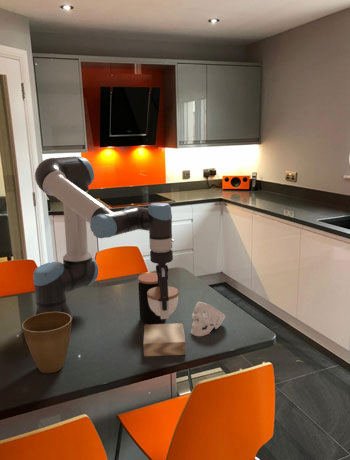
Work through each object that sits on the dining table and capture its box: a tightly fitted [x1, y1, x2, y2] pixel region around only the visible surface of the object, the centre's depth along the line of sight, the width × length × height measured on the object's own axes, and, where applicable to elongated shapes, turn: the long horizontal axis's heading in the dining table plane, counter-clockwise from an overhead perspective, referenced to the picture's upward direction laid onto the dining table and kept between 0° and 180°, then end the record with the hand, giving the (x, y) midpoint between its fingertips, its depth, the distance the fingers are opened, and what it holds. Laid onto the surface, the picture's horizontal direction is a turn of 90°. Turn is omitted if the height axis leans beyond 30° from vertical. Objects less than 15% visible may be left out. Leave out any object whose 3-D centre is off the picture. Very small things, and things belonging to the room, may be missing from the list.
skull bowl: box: [190, 301, 226, 337], centre depth 152 cm, size 10×14×12 cm
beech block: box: [143, 322, 187, 357], centre depth 141 cm, size 14×14×5 cm
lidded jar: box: [147, 285, 180, 316], centre depth 138 cm, size 11×11×9 cm
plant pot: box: [21, 312, 73, 374], centre depth 128 cm, size 15×15×16 cm
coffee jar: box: [137, 272, 166, 325], centre depth 160 cm, size 11×11×18 cm
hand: (163, 311), depth 139 cm, fingers closed on lidded jar, 11 cm apart
